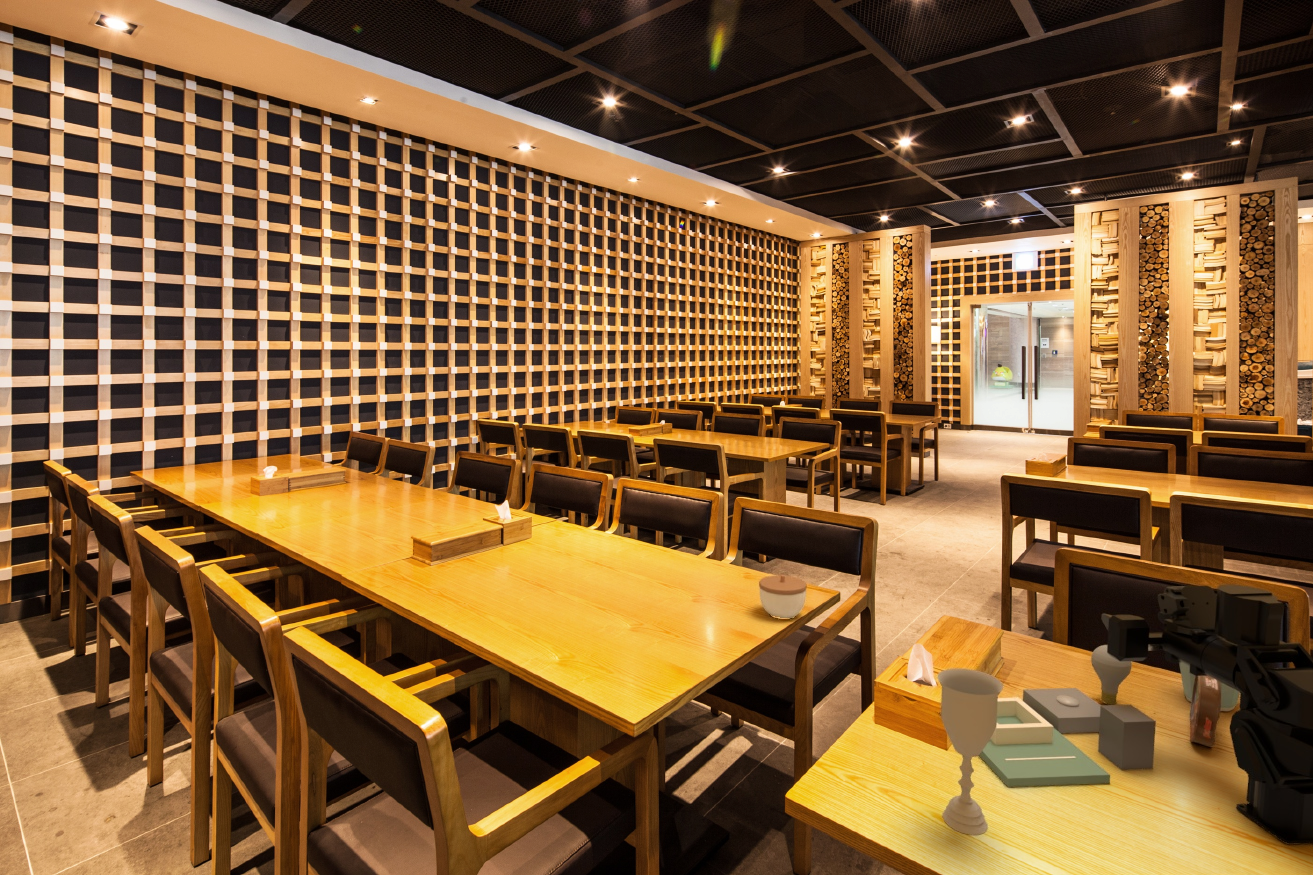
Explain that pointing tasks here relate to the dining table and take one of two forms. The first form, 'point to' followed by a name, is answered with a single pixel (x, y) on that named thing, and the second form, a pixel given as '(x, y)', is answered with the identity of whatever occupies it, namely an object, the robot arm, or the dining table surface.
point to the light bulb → (1109, 673)
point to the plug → (1126, 737)
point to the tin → (1205, 710)
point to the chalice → (968, 736)
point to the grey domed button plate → (1065, 709)
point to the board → (1035, 751)
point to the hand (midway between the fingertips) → (1130, 615)
